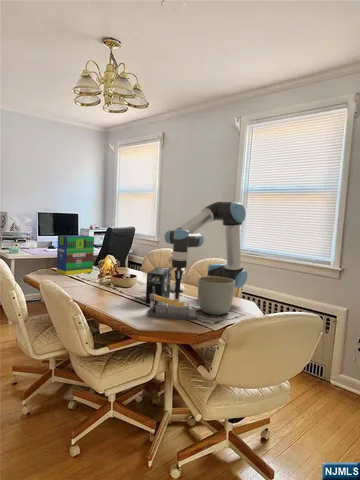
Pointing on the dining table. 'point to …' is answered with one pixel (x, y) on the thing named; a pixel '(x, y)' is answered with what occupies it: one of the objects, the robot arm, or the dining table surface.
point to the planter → (215, 294)
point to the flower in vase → (175, 281)
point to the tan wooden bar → (166, 300)
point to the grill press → (171, 311)
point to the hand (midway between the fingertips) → (176, 304)
